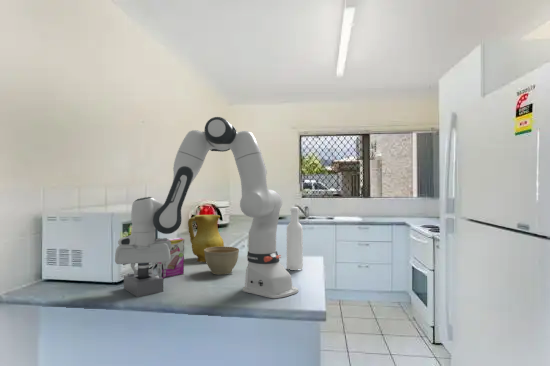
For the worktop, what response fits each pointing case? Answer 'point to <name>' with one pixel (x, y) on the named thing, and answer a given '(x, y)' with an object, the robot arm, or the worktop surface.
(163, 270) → the candy bar box
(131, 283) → the block
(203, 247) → the pitcher
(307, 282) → the worktop surface
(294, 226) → the bottle
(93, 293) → the worktop surface
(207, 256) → the planter bowl
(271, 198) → the robot arm
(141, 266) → the lens
